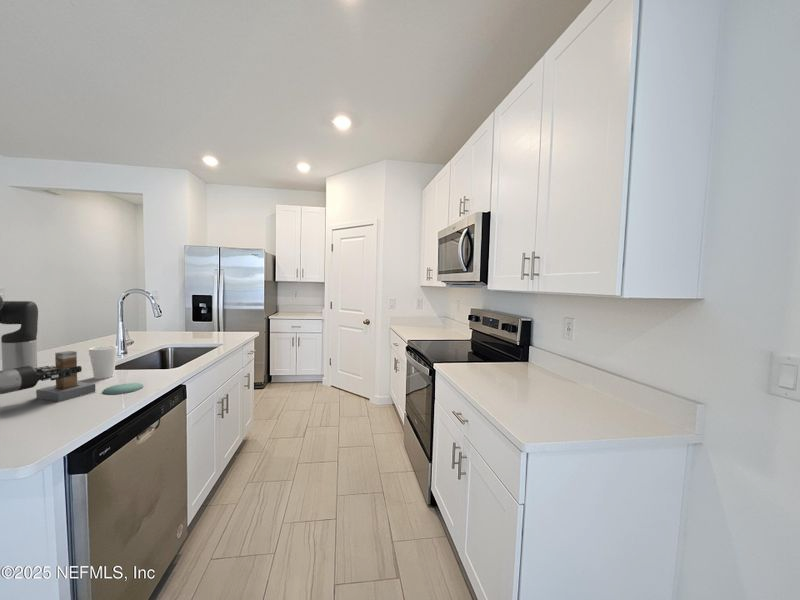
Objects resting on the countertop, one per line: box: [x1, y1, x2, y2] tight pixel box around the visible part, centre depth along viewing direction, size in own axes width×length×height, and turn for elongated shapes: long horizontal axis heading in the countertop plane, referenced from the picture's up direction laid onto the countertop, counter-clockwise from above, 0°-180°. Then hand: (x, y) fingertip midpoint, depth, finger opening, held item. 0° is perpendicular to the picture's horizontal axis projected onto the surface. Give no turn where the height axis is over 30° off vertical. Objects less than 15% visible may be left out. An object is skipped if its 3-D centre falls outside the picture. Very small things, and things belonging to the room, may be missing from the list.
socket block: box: [35, 380, 96, 403], centre depth 121 cm, size 11×11×3 cm
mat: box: [102, 382, 144, 395], centre depth 128 cm, size 12×12×1 cm
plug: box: [54, 350, 78, 390], centre depth 120 cm, size 4×4×16 cm
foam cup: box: [88, 345, 119, 380], centre depth 143 cm, size 10×9×13 cm
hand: (74, 367), depth 123 cm, fingers open, 6 cm apart
